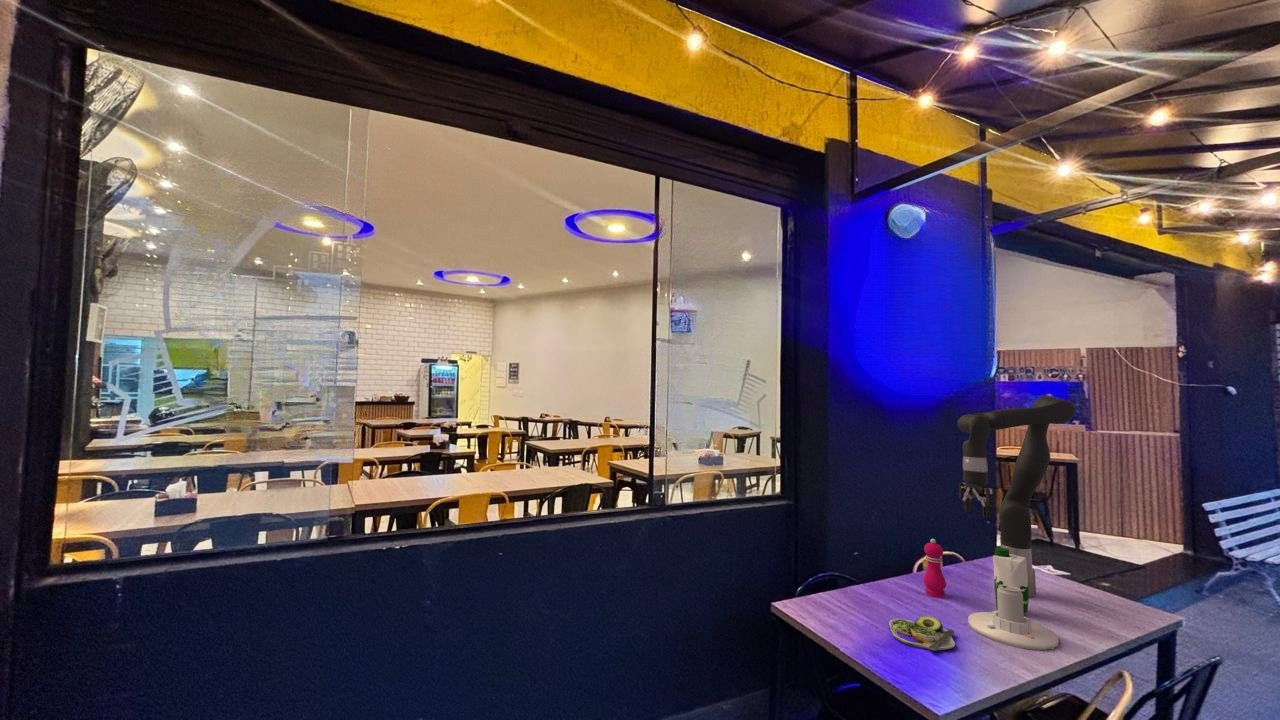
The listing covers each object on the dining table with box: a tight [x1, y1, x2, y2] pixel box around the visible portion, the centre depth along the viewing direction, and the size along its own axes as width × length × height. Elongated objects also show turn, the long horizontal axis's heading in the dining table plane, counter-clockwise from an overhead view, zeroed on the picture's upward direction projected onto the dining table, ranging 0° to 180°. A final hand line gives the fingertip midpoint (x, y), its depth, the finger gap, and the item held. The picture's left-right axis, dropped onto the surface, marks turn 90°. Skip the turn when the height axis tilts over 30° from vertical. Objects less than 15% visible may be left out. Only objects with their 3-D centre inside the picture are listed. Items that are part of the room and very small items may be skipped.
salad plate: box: [888, 615, 956, 652], centre depth 145 cm, size 19×18×5 cm
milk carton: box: [992, 547, 1030, 616], centre depth 168 cm, size 9×9×20 cm
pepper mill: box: [922, 538, 947, 599], centre depth 181 cm, size 7×7×20 cm
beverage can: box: [997, 584, 1025, 623], centre depth 151 cm, size 6×6×12 cm
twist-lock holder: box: [967, 610, 1059, 651], centre depth 151 cm, size 22×22×4 cm
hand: (977, 514), depth 178 cm, fingers open, 8 cm apart
